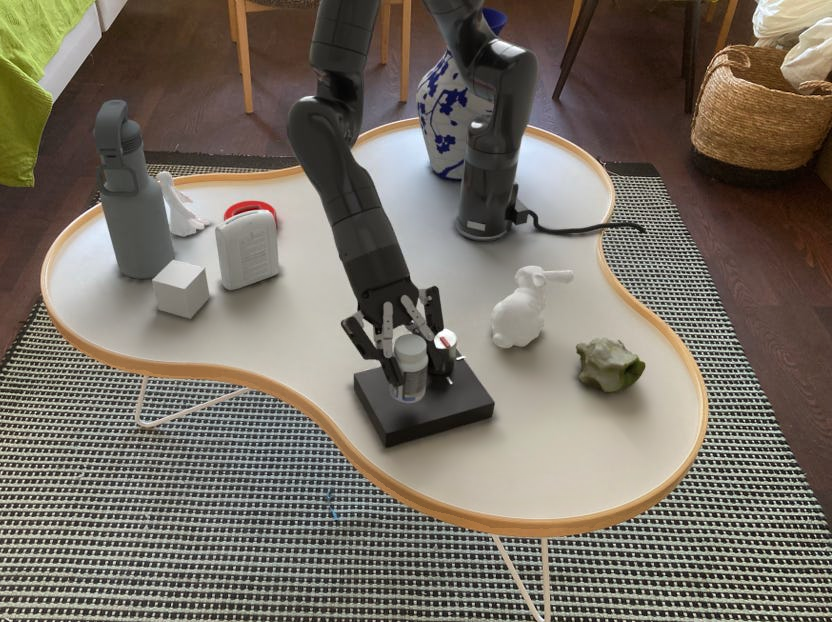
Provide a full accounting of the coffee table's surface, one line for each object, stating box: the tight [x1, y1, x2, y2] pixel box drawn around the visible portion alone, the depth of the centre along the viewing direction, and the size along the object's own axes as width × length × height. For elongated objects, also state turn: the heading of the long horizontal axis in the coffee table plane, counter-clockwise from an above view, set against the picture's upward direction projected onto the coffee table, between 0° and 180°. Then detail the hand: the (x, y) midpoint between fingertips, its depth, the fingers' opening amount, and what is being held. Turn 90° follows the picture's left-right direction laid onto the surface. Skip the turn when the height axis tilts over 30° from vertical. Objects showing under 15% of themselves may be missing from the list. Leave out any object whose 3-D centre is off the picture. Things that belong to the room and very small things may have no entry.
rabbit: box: [491, 265, 575, 349], centre depth 110 cm, size 12×9×12 cm
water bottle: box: [92, 99, 176, 280], centre depth 118 cm, size 10×10×28 cm
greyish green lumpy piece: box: [575, 337, 646, 393], centre depth 105 cm, size 9×9×8 cm
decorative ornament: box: [223, 200, 278, 232], centre depth 135 cm, size 10×10×3 cm
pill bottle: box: [390, 333, 428, 403], centre depth 94 cm, size 5×5×8 cm
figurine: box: [155, 170, 210, 237], centre depth 132 cm, size 8×8×12 cm
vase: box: [415, 6, 508, 182], centre depth 142 cm, size 19×19×30 cm
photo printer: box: [214, 210, 280, 291], centre depth 121 cm, size 10×4×12 cm, turn 123°
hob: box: [353, 348, 496, 449], centre depth 103 cm, size 16×14×3 cm
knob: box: [427, 327, 458, 375], centre depth 103 cm, size 4×4×5 cm
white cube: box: [151, 259, 211, 320], centre depth 118 cm, size 6×6×6 cm
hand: (417, 377), depth 93 cm, fingers closed on pill bottle, 4 cm apart
